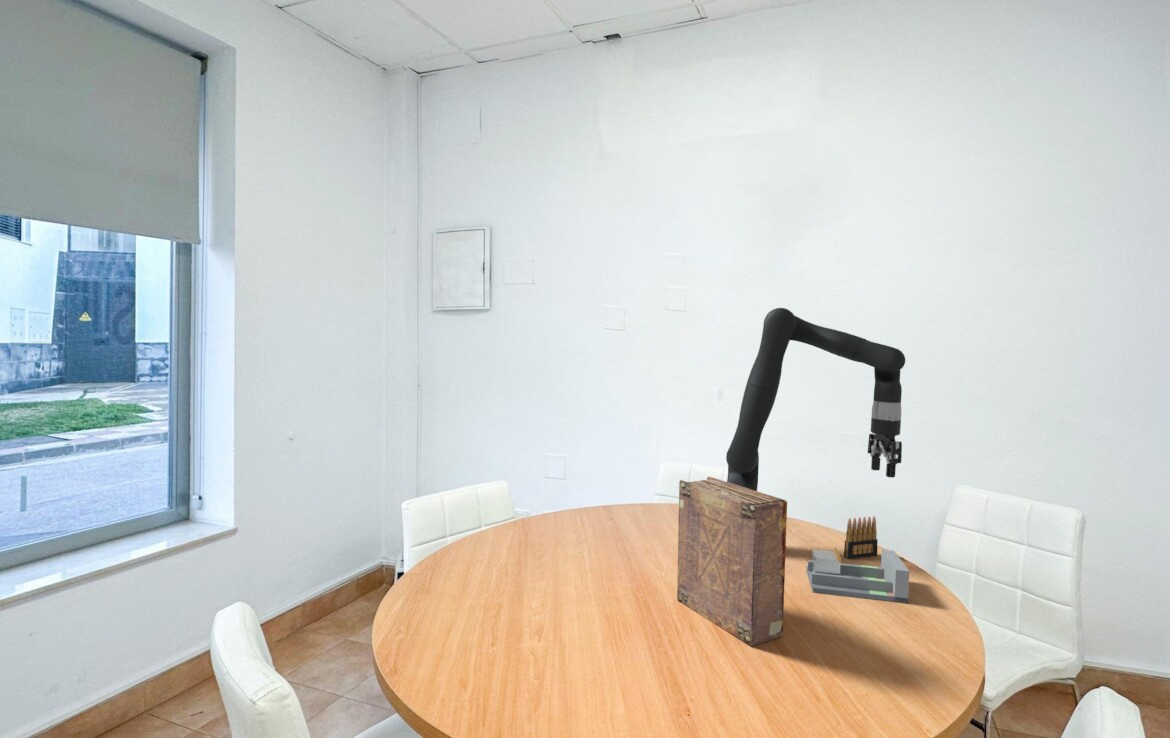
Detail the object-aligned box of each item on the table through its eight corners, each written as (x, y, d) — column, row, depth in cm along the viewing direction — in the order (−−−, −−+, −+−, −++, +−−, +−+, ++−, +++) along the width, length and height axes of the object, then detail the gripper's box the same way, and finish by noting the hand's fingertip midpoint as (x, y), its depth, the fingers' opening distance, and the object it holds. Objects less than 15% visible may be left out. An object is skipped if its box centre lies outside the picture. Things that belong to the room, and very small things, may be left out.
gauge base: (812, 592, 149) (813, 561, 148) (806, 570, 163) (807, 542, 163) (908, 603, 143) (909, 571, 143) (892, 579, 158) (893, 550, 157)
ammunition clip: (873, 553, 177) (874, 515, 177) (877, 556, 175) (879, 516, 175) (843, 557, 174) (844, 517, 174) (847, 559, 172) (849, 519, 172)
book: (676, 600, 143) (678, 479, 142) (705, 592, 148) (707, 475, 146) (751, 647, 121) (755, 505, 120) (783, 637, 126) (787, 500, 124)
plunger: (815, 581, 152) (816, 556, 151) (811, 569, 160) (812, 545, 159) (840, 584, 150) (841, 558, 150) (835, 572, 158) (836, 547, 158)
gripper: (861, 413, 173) (858, 467, 174) (885, 420, 159) (882, 479, 160) (886, 414, 173) (883, 468, 174) (913, 421, 159) (909, 480, 160)
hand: (882, 473), depth 167 cm, fingers open, 8 cm apart
